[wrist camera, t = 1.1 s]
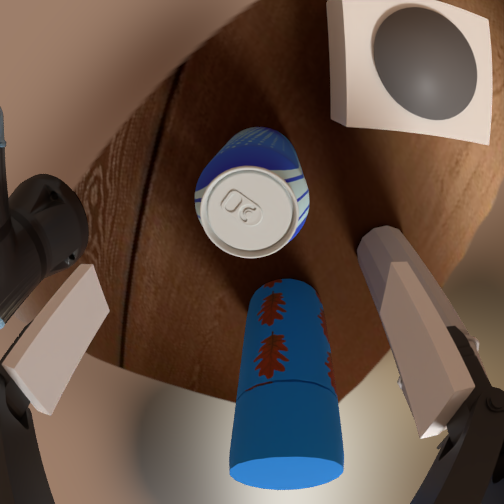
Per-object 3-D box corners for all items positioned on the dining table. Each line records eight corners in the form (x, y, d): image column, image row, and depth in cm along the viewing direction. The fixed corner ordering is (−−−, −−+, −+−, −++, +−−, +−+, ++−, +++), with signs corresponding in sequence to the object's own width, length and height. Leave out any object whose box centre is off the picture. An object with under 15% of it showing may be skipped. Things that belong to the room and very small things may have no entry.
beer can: (287, 118, 32) (298, 138, 18) (303, 188, 35) (322, 257, 21) (214, 136, 33) (169, 171, 19) (234, 203, 37) (208, 278, 23)
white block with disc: (330, 118, 31) (347, 127, 24) (326, 3, 24) (341, -22, 17) (452, 131, 30) (491, 146, 22) (451, 27, 23) (490, 19, 16)
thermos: (308, 266, 41) (330, 446, 19) (332, 321, 45) (355, 479, 23) (235, 292, 43) (204, 462, 22) (266, 342, 48) (256, 493, 26)
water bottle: (344, 238, 38) (403, 412, 16) (398, 212, 36) (505, 361, 14) (367, 289, 42) (417, 450, 20) (416, 266, 39) (494, 413, 18)
